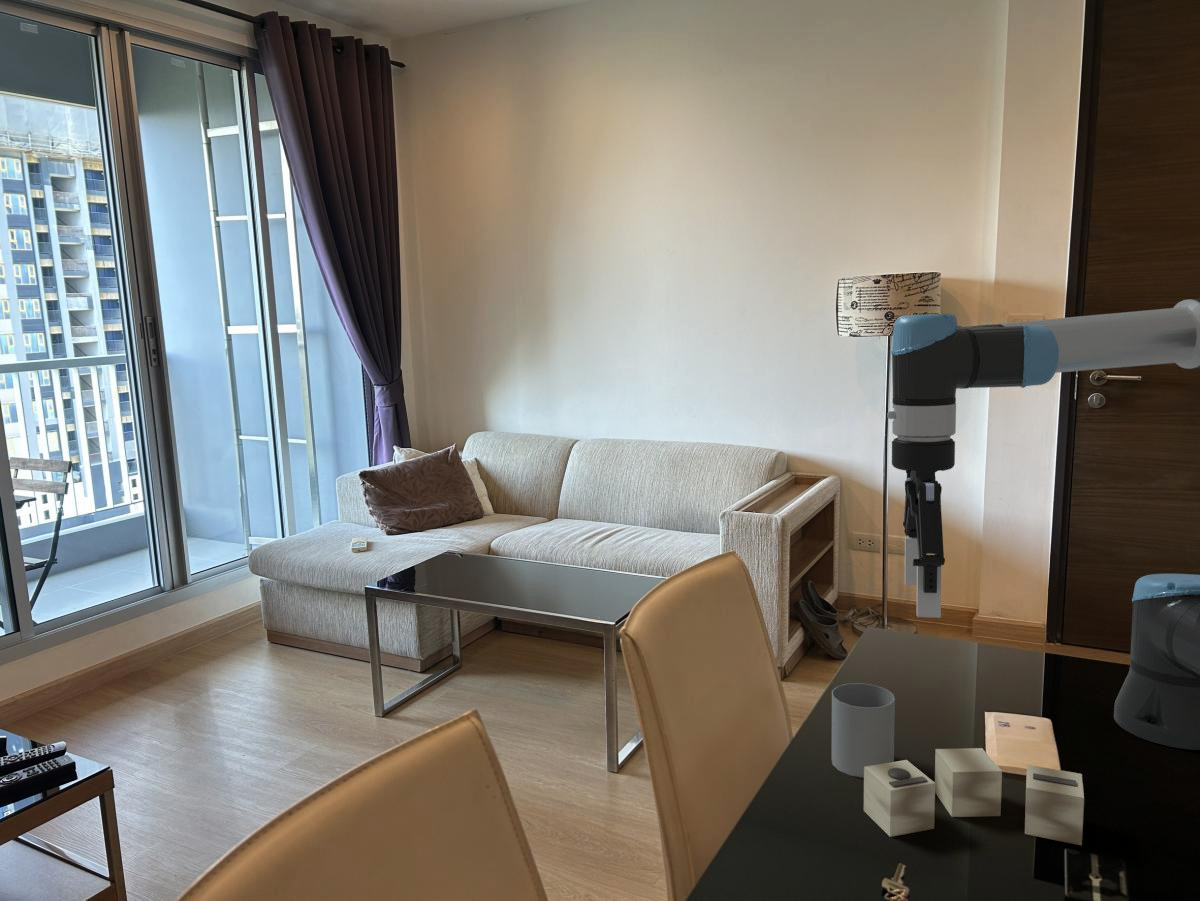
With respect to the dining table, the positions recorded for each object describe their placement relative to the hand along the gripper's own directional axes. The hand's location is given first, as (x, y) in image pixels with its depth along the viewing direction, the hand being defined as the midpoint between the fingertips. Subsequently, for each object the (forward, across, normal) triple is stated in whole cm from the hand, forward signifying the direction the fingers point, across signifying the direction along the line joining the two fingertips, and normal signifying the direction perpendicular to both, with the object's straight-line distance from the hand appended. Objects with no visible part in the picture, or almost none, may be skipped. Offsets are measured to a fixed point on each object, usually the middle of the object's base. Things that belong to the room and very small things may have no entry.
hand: (921, 599), depth 114 cm
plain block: (+25, +4, +5) cm, 26 cm away
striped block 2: (+26, +8, +14) cm, 30 cm away
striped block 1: (+25, +10, -4) cm, 27 cm away
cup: (+26, -4, -7) cm, 27 cm away
